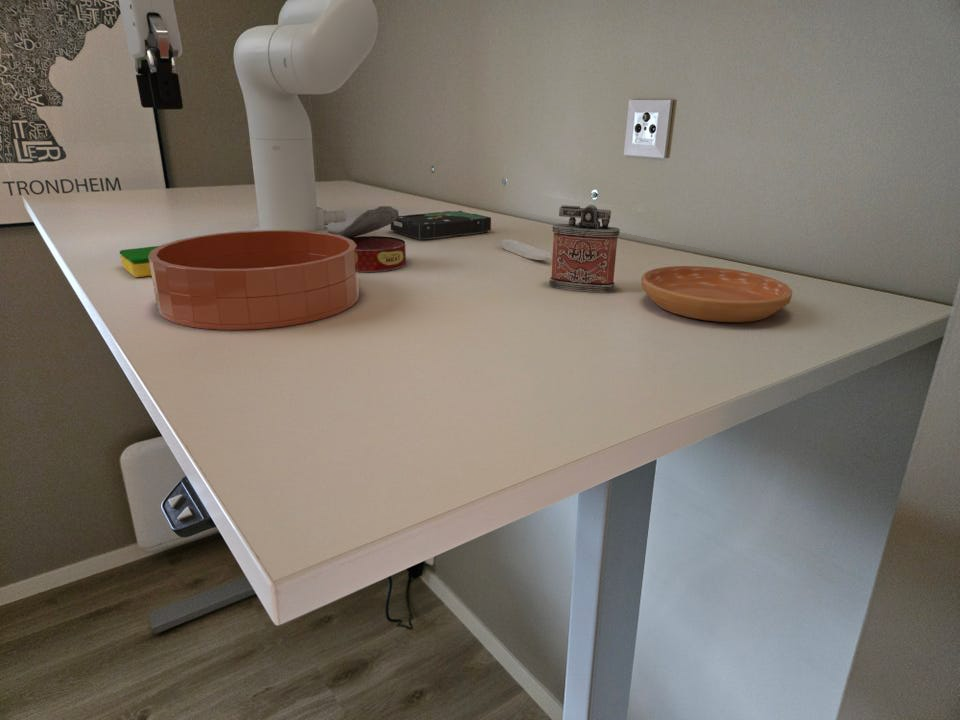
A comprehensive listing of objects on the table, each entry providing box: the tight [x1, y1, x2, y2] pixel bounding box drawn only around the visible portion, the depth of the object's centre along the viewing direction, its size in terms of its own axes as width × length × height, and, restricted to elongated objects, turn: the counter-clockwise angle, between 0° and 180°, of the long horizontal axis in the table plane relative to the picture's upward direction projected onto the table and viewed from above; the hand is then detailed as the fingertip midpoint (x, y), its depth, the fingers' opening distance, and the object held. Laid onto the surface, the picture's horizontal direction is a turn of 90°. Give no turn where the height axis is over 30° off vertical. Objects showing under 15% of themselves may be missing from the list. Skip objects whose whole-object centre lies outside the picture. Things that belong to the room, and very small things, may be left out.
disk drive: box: [390, 210, 492, 240], centre depth 114 cm, size 10×3×15 cm
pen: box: [500, 238, 552, 261], centre depth 97 cm, size 2×14×2 cm, turn 27°
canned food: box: [337, 205, 407, 273], centre depth 90 cm, size 11×10×10 cm
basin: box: [148, 230, 360, 331], centre depth 73 cm, size 22×22×6 cm
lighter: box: [549, 204, 621, 293], centre depth 79 cm, size 8×3×10 cm, turn 71°
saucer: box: [640, 265, 793, 323], centre depth 73 cm, size 16×16×3 cm
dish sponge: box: [119, 245, 160, 278], centre depth 88 cm, size 7×14×2 cm, turn 129°
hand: (161, 108), depth 83 cm, fingers open, 9 cm apart
